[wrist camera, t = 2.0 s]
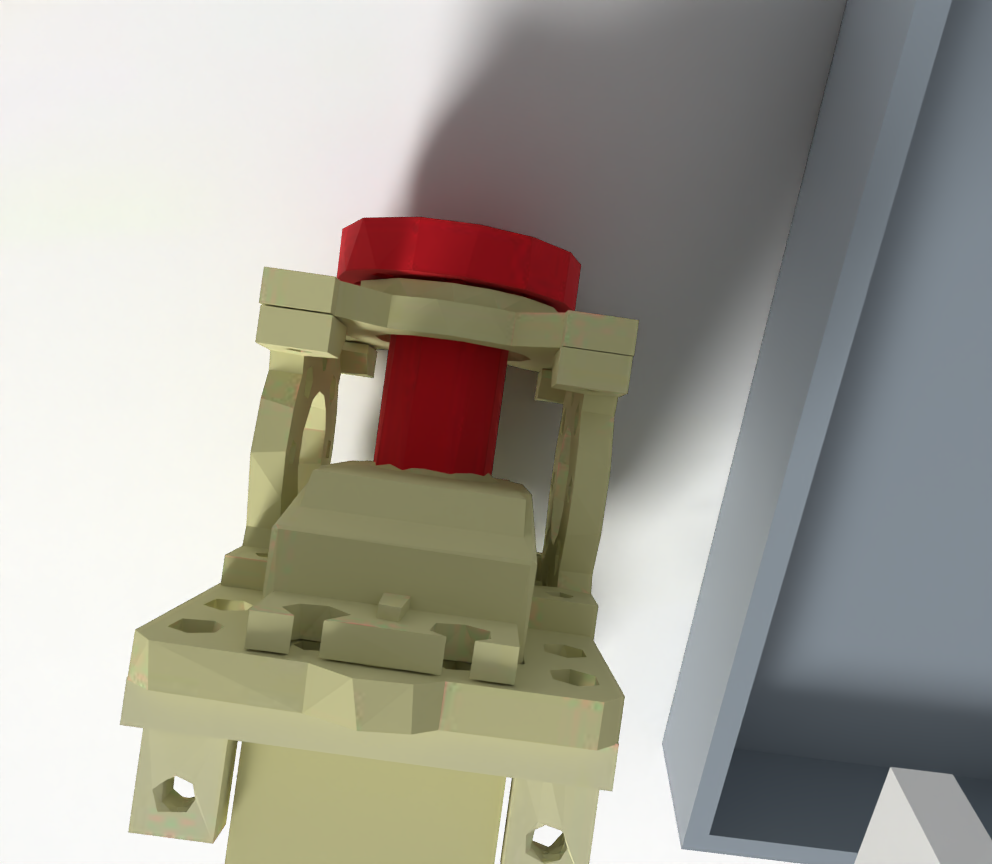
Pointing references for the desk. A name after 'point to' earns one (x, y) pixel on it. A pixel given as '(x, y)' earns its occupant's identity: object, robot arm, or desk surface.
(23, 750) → the desk surface
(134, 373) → the desk surface
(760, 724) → the parts bin
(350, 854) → the mechanical component
